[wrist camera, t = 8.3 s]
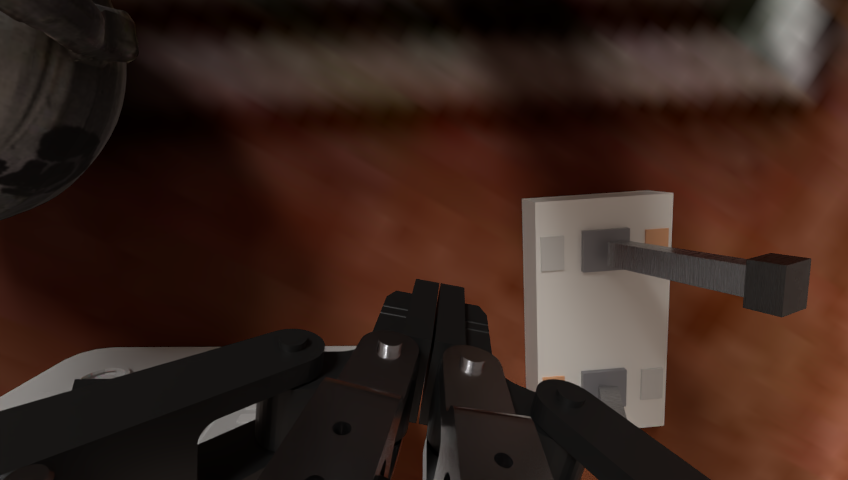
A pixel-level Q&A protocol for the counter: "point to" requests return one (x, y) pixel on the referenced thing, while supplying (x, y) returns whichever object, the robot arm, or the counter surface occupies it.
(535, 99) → the counter surface
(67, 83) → the ceramic pot
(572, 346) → the switch unit
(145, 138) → the counter surface
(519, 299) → the counter surface
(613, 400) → the lever
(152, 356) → the rounded white slab
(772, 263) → the lever
